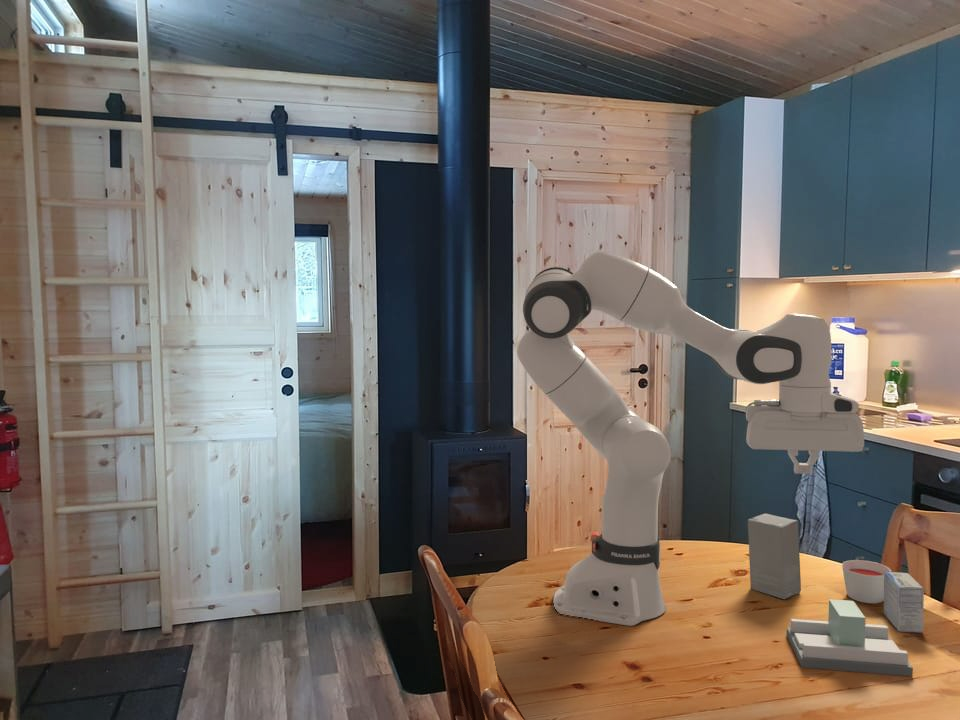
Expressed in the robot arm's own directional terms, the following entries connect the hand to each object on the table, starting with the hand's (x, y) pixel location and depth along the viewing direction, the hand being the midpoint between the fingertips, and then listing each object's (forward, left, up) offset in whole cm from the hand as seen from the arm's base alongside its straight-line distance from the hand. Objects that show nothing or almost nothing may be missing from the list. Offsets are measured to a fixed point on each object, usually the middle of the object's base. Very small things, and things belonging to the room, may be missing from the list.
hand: (802, 473), depth 137 cm
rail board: (+5, -12, -29) cm, 32 cm away
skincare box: (-2, +15, -29) cm, 33 cm away
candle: (+16, +15, -29) cm, 37 cm away
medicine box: (+19, +3, -29) cm, 35 cm away
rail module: (+5, -12, -27) cm, 30 cm away
